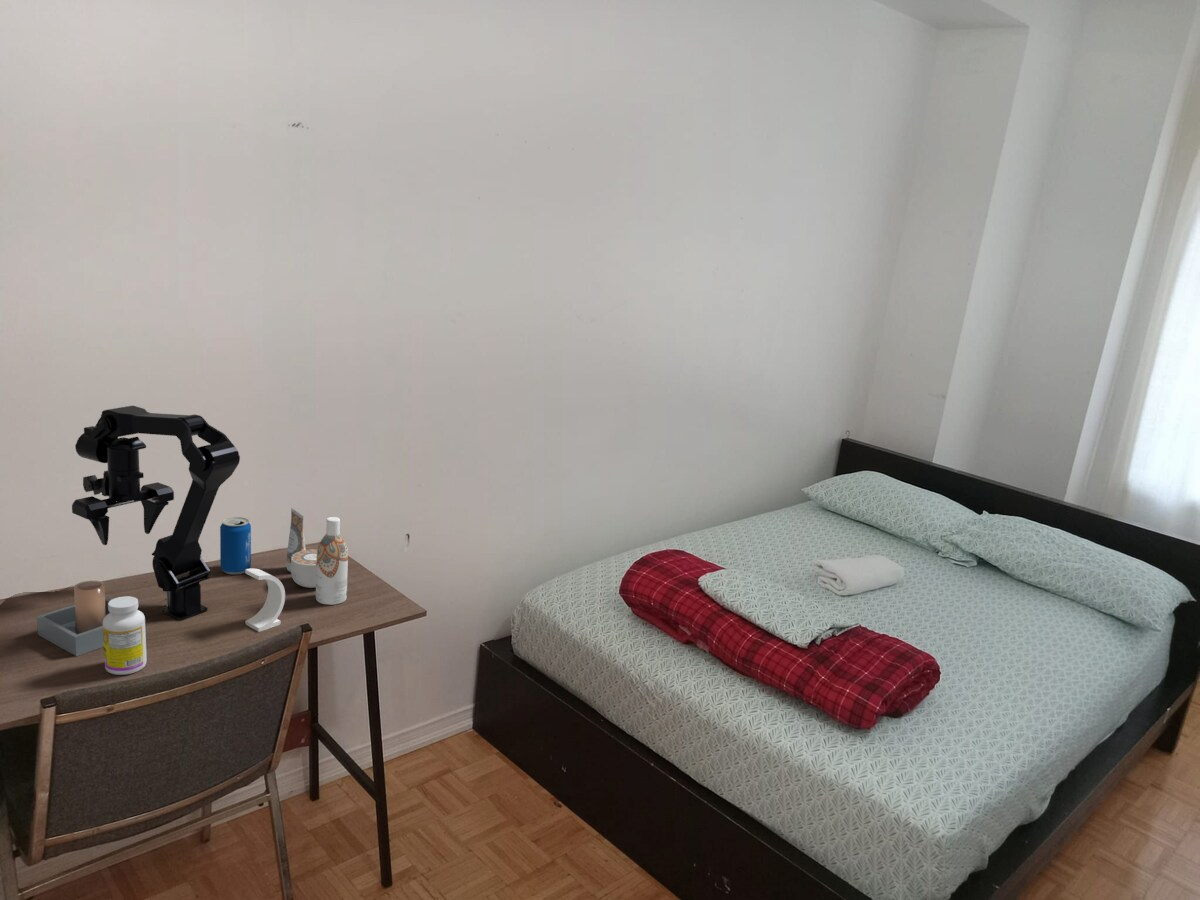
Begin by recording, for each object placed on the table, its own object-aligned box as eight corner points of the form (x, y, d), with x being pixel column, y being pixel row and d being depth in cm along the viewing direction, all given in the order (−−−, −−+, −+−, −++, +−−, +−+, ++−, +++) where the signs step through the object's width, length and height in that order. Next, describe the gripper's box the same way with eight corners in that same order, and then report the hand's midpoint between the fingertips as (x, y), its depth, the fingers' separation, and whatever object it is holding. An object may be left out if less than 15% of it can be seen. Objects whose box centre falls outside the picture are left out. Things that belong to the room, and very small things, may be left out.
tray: (142, 632, 170) (141, 614, 169) (76, 656, 159) (75, 637, 158) (103, 613, 176) (102, 595, 175) (38, 634, 165) (36, 616, 164)
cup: (111, 629, 168) (110, 586, 166) (84, 637, 164) (83, 593, 162) (96, 621, 171) (95, 578, 169) (70, 629, 167) (68, 585, 164)
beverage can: (240, 577, 198) (240, 528, 195) (214, 573, 199) (214, 523, 196) (256, 567, 204) (256, 519, 201) (231, 563, 205) (231, 514, 202)
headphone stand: (245, 624, 177) (245, 569, 174) (271, 615, 182) (271, 561, 179) (258, 632, 175) (258, 576, 172) (285, 622, 180) (285, 568, 177)
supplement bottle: (114, 657, 160) (112, 592, 157) (152, 658, 161) (150, 594, 158) (97, 675, 154) (94, 608, 151) (137, 677, 155) (135, 610, 151)
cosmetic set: (271, 568, 205) (271, 492, 200) (309, 561, 211) (310, 487, 206) (317, 609, 187) (319, 526, 182) (357, 600, 193) (360, 520, 188)
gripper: (142, 451, 191) (145, 519, 195) (54, 467, 175) (58, 540, 179) (174, 462, 185) (176, 531, 189) (86, 479, 170) (90, 554, 174)
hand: (126, 538), depth 183 cm, fingers open, 9 cm apart
